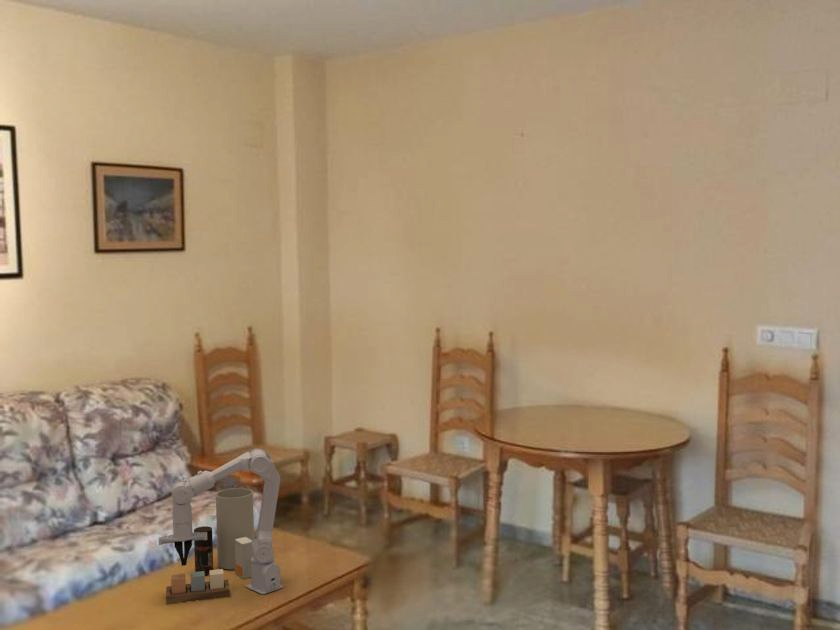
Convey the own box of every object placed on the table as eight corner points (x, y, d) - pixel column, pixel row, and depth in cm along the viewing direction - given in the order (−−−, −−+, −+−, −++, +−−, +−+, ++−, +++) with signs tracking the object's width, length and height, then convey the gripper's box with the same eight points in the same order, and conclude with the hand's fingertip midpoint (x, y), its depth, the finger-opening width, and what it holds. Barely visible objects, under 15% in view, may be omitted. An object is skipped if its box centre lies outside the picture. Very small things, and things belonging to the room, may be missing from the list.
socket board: (229, 596, 257) (229, 589, 257) (166, 604, 252) (166, 597, 252) (228, 586, 266) (228, 579, 266) (166, 593, 260) (166, 586, 260)
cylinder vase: (262, 561, 287) (260, 491, 286) (236, 573, 277) (234, 500, 275) (236, 555, 294) (234, 486, 292) (209, 566, 283) (207, 494, 282)
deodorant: (208, 576, 274) (207, 532, 273) (191, 575, 275) (190, 531, 274) (216, 570, 280) (215, 526, 279) (200, 569, 281) (198, 525, 280)
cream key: (224, 587, 259) (223, 573, 258) (210, 589, 258) (209, 575, 257) (223, 583, 263) (222, 568, 262) (209, 584, 262) (209, 570, 261)
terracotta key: (185, 592, 256) (185, 577, 255) (171, 594, 254) (171, 579, 254) (185, 587, 260) (185, 573, 259) (171, 589, 258) (171, 574, 258)
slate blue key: (205, 590, 257) (204, 575, 257) (191, 591, 256) (190, 577, 256) (204, 585, 261) (204, 570, 261) (190, 586, 260) (190, 572, 260)
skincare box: (235, 574, 276) (234, 539, 275) (246, 571, 279) (245, 536, 278) (242, 579, 271) (242, 543, 270) (254, 576, 274) (254, 541, 273)
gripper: (206, 515, 262) (207, 557, 263) (158, 520, 258) (159, 562, 259) (206, 522, 255) (208, 565, 256) (157, 527, 251) (159, 570, 252)
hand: (184, 564), depth 257 cm, fingers closed
